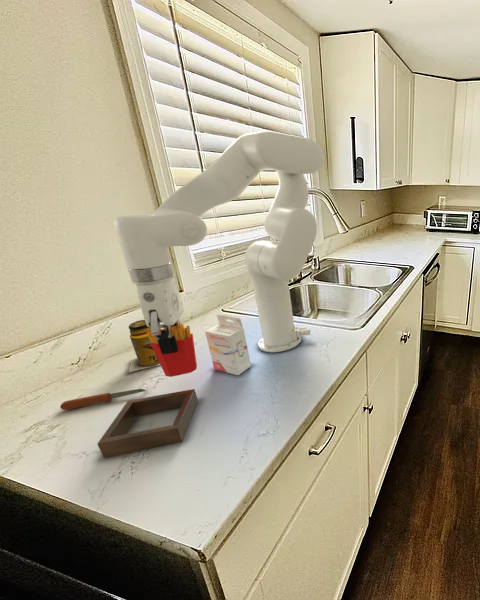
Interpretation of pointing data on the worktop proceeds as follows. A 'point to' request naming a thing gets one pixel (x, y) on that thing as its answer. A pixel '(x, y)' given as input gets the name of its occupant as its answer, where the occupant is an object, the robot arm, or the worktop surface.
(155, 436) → the holder
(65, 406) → the kitchen knife
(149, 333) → the french fries
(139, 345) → the condiment
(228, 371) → the ink cartridge box
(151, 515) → the worktop surface
